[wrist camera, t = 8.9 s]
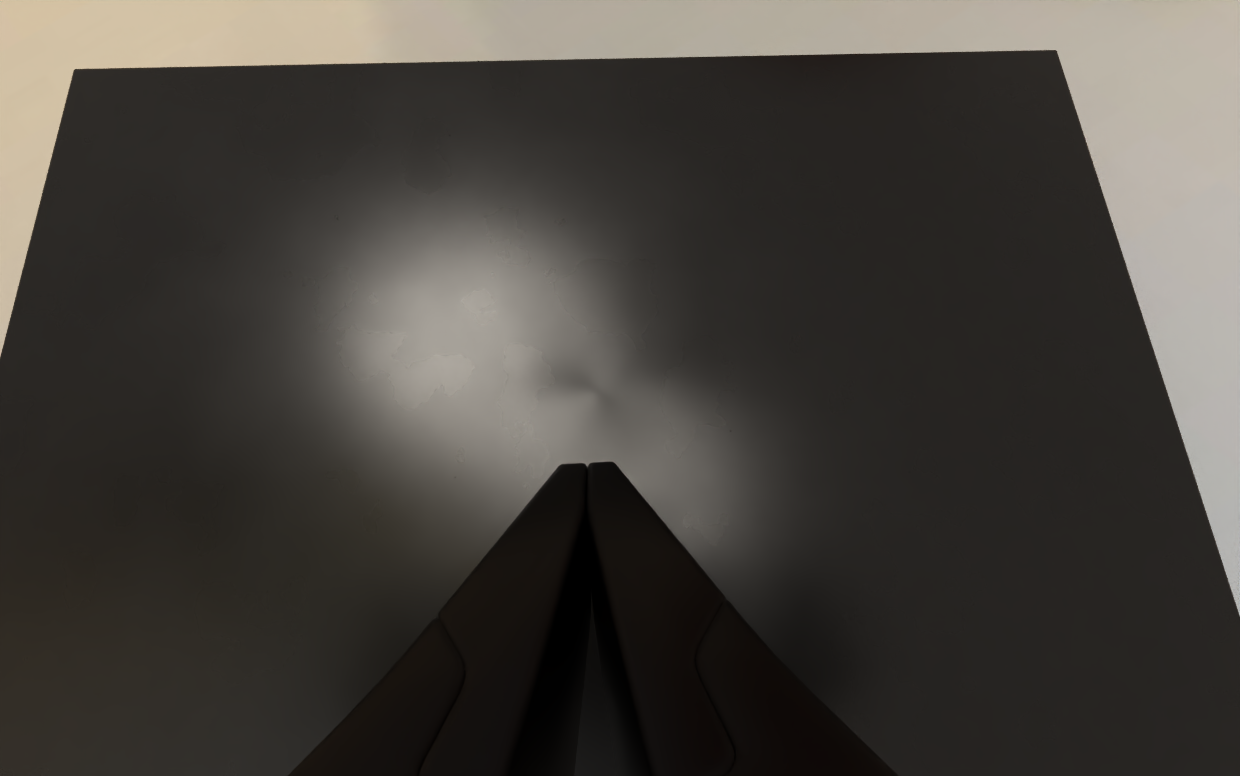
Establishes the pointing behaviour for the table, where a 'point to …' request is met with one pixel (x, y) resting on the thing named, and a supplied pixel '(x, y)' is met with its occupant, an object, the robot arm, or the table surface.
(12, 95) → the table surface
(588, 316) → the laptop screen
